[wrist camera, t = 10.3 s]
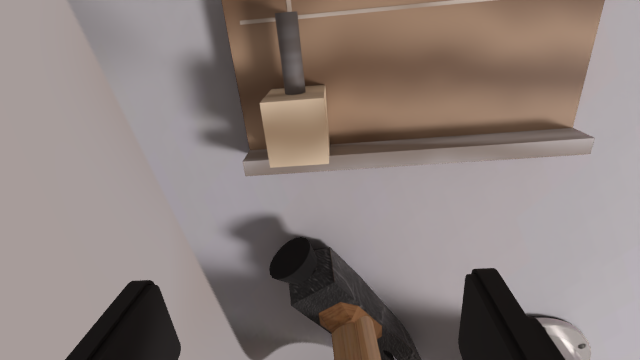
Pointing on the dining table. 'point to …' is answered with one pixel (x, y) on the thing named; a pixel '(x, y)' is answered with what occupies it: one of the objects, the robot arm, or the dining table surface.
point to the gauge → (294, 107)
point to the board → (423, 77)
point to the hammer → (341, 304)
